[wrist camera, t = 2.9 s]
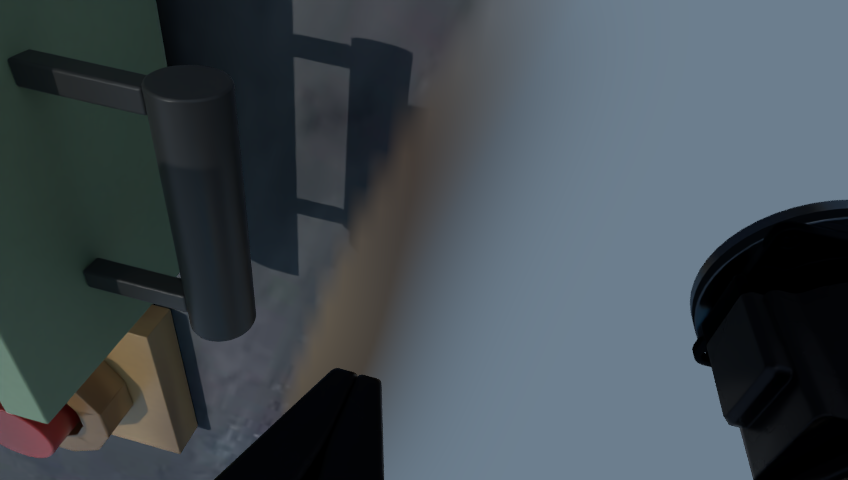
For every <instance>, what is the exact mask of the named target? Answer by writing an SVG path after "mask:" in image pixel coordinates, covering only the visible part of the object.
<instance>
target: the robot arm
mask: <svg viewBox="0 0 848 480" xmlns="http://www.w3.org/2000/svg"><path fill="white" fill-rule="evenodd" d="M788 235H795V236H794V237H793V238H792V239H790V240H787V241H781V239H783V238H784V237H785V236H788ZM702 330H703V331H702V333H701V334H700V336H699V337H698V339H697V340H696V342H695V343H694V345H693V348H692V350H693V355H694V359H695V361H696V362H697V363H699V364H701V365H704V366H709V367H712V371H713V375H714V379H715V383H716V387H717V391H718V395H719V399H720V404H721V408H722V412H723V416H724V417H725V419H726V421H727V422H728V424H729V425H731V426H735V427H739V428H740V431H741V434H742V438H743V442H744V445H745V449H746V453H747V457H748V461H749V465H750V468H751V472H752V476H753V480H848V233H845V232H840V231H836V230H831V229H827V228H822V227H818V226H813V225H809V224H804V223H800V222H795V221H785V222H780V223H778V224H777V225H775V226H773V227H772V228H771V229H770V230H769V232H768V233H767V235H766V236H765V238H764V239H763V241H762V242H761V244H760V245H759V247H758V248H757V250H756V251H755V253H754V254H753V256H752V257H751V259H750V260H749V262H748V263H747V265H746V266H745V268H744V269H743V271H742V272H741V273H739V274H738V275H736V276H734V277H733V278H732V280H731V282H730V283H729V285H728V286H727V288H726V289H725V291H724V292H723V294H722V295H721V297H720V298H719V300H718V301H717V303H716V304H715V306H714V307H713V309H712V310H711V312H710V314H709V315H708V317H707V318H706V320H705V321H704V323H703V324H702ZM705 352H708V353H705ZM214 480H384V463H383V423H382V387H381V381H380V380H379V379H377V378H373V377H369V376H366V375H359V376H358V377H357V374H356V373H354V372H350V371H347V370H343V369H340V368H335V369H333V370H331V371H330V372H329V373H328V374H327V375H326V376H325V377H324V378H323V379H321V380H320V381H319V382H318V383H317V384H316V385H315V386H314V387H313V388H312V389H311V390H310V391H309V392H308V393H306V395H304V396H303V397H302V398H301V399H300V400H299V401H298V402H297V403H296V404H295V405H294V406H292V407H291V408H290V409H289V410H288V411H287V412H286V413H285V414H284V415H283V416H282V417H281V418H280V419H279V420H277V421H276V422H275V423H274V424H273V425H272V426H271V427H270V428H269V429H268V430H267V431H266V432H265V433H264V434H262V435H261V436H260V437H259V438H258V439H257V440H256V441H255V442H254V443H253V444H252V445H251V446H250V447H249V448H247V449H246V450H245V451H244V452H243V453H242V454H241V455H240V456H239V457H238V458H237V459H236V460H235V461H234V462H232V463H231V464H230V465H229V466H228V467H227V468H226V469H225V470H224V471H223V472H222V473H221V474H220V475H218V476H217V477H216V478H215V479H214Z"/></svg>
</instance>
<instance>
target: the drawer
mask: <svg viewBox="0 0 848 480" xmlns="http://www.w3.org/2000/svg"><path fill="white" fill-rule="evenodd" d="M179 273H180V275H181V278H177V277H176V276H177V275H178V274H179ZM152 304H157V305H161V306H164V307H168V308H172V309H176V310H180V311H183V312H188V314H189V319H190V324H191V327H192V329H193V331H194V332H195V333H196V334H197V335H198V336H200V337H201V338H203V339H206V340H209V341H216V342H221V341H228V340H232V339H235V338H237V337H239V336H241V335H243V334H244V333H246V332H247V331H248V330H249V329H250V328H251V326H252V325H253V323H254V321H255V318H256V309H255V299H254V288H253V278H252V267H251V257H250V246H249V236H248V225H247V215H246V204H245V194H244V183H243V173H242V162H241V152H240V141H239V131H238V120H237V110H236V99H235V89H234V82H233V80H232V78H231V77H230V76H229V75H228V74H227V73H225V72H224V71H221V70H219V69H216V68H212V67H208V66H201V65H176V66H169V67H167V62H166V56H165V50H164V44H163V38H162V33H161V27H160V21H159V15H158V9H157V4H156V0H0V402H1V404H2V406H3V407H4V409H5V411H6V412H7V413H10V414H14V415H17V416H21V417H24V418H28V419H31V420H35V421H38V422H41V423H45V424H48V423H50V421H51V420H52V419H53V418H54V417H55V416H56V414H57V413H58V412H59V411H60V410H61V409H62V408H63V406H64V405H65V404H66V403H67V402H68V401H69V399H70V398H71V397H72V396H73V395H74V394H75V393H76V391H77V390H78V389H79V388H80V387H81V386H82V384H83V383H84V382H85V381H86V380H87V379H88V378H89V376H90V375H91V374H92V373H93V372H94V371H95V369H96V368H97V367H98V366H99V365H100V364H101V363H102V361H103V360H104V359H105V358H106V357H107V356H108V354H109V353H110V352H111V351H112V350H113V349H114V348H115V346H116V345H117V344H118V343H119V342H120V341H121V339H122V338H123V337H124V336H125V335H126V334H127V333H128V331H129V330H130V329H131V328H132V327H133V326H134V324H135V323H136V322H137V321H138V320H139V319H140V318H141V316H142V315H143V314H144V313H145V312H146V311H147V309H148V308H149V307H150V306H151V305H152Z"/></svg>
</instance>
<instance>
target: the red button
mask: <svg viewBox="0 0 848 480" xmlns="http://www.w3.org/2000/svg"><path fill="white" fill-rule="evenodd" d="M79 421H80V418H79V416H78V414H77V412H75V411H74V410H73V409H72V408H71V407H70V406H69V405H68V404H67V403H66V404H65V405H64V406H63V408H62V409H61V410H60V411H59V412H58V413H57V414H56V416H55V417H54V418H53V419H52V420H51V421H50V423H48V424H45V423H41V422H38V421H35V420H31V419H28V418H24V417H21V416H17V415H14V414H10V413H7V412H6V411H5V409H4V407H3V406H2V404H1V402H0V444H1V445H3V446H5V447H7V448H9V449H11V450H13V451H15V452H18V453H20V454H23V455H27V456H31V457H36V458H46V457H49V456H51V455H52V454H53V453H54V452H55V451H56V450H57V448H58V447H59V446H60V445H61V443H62V442H63V441H64V440H65V439H66V437H67V436H68V435H69V434H70V432H71V431H72V430H73V429H74V428H75V426H76V425H77V424H78V423H79Z"/></svg>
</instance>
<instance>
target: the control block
mask: <svg viewBox="0 0 848 480" xmlns="http://www.w3.org/2000/svg"><path fill="white" fill-rule="evenodd" d="M67 404H68V405H69V406H70V407H71V408H72V409H73V410H74V411H75V412H77V414H78V416H79V418H80V421H79V423H78V424H77V425H76V426H75V428H74V429H73V430H72V431H71V432H70V434H69V435H68V436H67V437H66V439H65V440H64V441H63V442H62V443H61V445H60V446H59V447H62V448H65V449H68V450H72V451H88V450H99V449H101V447H102V446H103V445H104V443H105V442H106V441H107V439H108V438H109V437H110V435H111V434H112V435H115V436H119V437H122V438H126V439H129V440H133V441H136V442H139V443H143V444H146V445H150V446H153V447H157V448H160V449H164V450H167V451H171V452H174V453H178V454H181V452H182V451H183V449H184V447H185V446H186V444H187V442H188V441H189V439H190V438H191V436H192V434H193V433H194V431H195V430H196V428H197V426H198V425H197V421H196V417H195V412H194V408H193V404H192V400H191V395H190V391H189V387H188V383H187V378H186V374H185V370H184V366H183V361H182V357H181V353H180V349H179V344H178V340H177V336H176V332H175V327H174V323H173V319H172V315H171V310H170V309H168V308H164V307H160V306H156V305H151V306H150V307H149V308H148V309H147V311H146V312H145V313H144V314H143V315H142V316H141V318H140V319H139V320H138V321H137V322H136V323H135V324H134V326H133V327H132V328H131V329H130V330H129V331H128V333H127V334H126V335H125V336H124V337H123V338H122V339H121V341H120V342H119V343H118V344H117V345H116V346H115V348H114V349H113V350H112V351H111V352H110V353H109V354H108V356H107V357H106V358H105V359H104V360H103V361H102V363H101V364H100V365H99V366H98V367H97V368H96V369H95V371H94V372H93V373H92V374H91V375H90V376H89V378H88V379H87V380H86V381H85V382H84V383H83V384H82V386H81V387H80V388H79V389H78V390H77V391H76V393H75V394H74V395H73V396H72V397H71V398H70V399H69V401H68V402H67Z"/></svg>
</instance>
